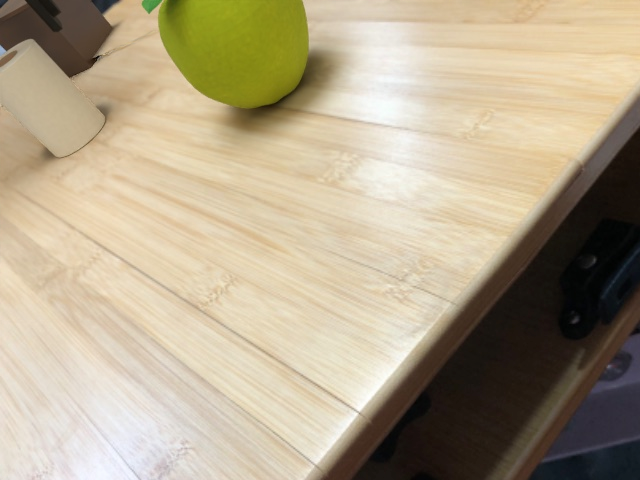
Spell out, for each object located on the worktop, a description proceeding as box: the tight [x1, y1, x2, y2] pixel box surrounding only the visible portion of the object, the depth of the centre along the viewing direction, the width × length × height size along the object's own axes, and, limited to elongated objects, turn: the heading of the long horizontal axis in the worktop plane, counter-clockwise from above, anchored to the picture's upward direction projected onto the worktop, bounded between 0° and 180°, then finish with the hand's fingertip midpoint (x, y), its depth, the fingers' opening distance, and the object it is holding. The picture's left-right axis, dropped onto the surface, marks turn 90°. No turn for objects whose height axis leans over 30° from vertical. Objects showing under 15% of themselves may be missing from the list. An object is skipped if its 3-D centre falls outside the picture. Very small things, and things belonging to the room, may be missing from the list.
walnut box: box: [0, 0, 114, 78], centre depth 70 cm, size 8×8×8 cm
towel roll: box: [0, 39, 106, 158], centre depth 54 cm, size 6×6×8 cm
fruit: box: [141, 0, 310, 109], centre depth 41 cm, size 9×9×10 cm
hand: (10, 63), depth 51 cm, fingers open, 9 cm apart
